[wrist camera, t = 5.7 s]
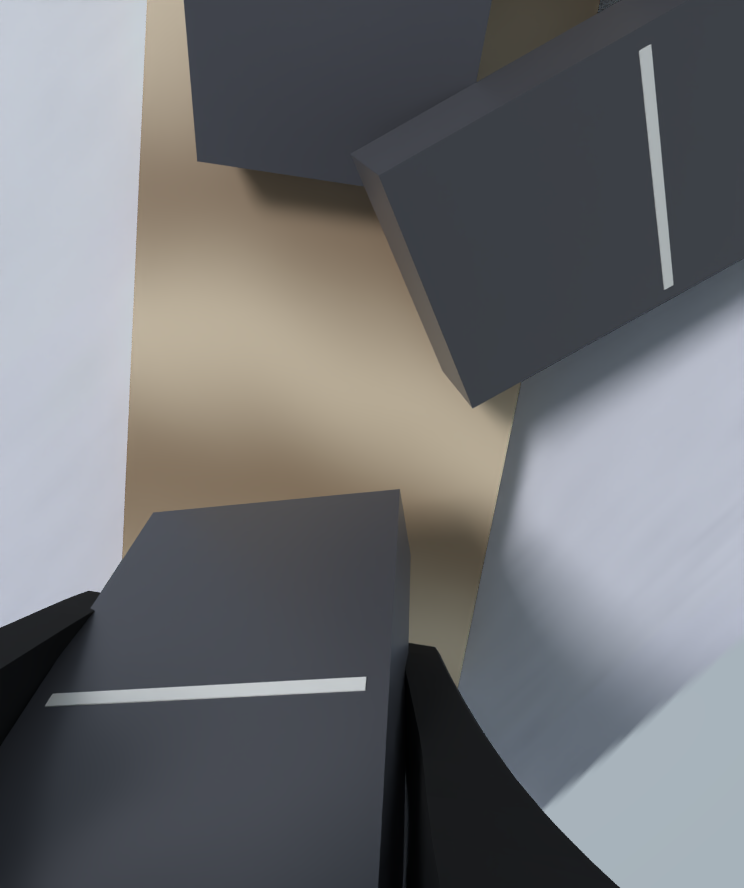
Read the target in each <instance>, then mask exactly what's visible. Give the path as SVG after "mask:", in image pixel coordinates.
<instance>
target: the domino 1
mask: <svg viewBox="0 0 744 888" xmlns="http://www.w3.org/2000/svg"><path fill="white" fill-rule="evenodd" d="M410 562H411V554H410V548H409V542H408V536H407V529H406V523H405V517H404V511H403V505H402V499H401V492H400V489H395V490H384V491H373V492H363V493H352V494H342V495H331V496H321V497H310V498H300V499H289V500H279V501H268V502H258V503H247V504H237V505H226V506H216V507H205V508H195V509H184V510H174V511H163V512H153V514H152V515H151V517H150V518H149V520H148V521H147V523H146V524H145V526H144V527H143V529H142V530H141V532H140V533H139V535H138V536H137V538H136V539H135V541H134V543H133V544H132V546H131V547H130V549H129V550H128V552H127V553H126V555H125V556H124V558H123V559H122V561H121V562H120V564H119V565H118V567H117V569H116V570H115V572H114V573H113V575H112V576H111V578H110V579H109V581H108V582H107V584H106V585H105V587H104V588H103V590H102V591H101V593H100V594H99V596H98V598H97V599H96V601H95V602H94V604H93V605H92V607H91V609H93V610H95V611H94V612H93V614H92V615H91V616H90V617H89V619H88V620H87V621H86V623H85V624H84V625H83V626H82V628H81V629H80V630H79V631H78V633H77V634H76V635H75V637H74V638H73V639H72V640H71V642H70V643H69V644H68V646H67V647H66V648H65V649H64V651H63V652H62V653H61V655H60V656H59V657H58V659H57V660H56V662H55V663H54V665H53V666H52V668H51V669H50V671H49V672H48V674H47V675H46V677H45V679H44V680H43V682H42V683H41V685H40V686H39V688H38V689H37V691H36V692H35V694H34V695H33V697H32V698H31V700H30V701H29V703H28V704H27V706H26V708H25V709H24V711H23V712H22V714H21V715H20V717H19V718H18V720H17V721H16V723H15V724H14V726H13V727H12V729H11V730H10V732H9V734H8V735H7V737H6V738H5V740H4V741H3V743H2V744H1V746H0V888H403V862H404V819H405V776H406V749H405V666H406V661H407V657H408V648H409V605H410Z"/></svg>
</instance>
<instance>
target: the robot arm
mask: <svg viewBox="0 0 744 888" xmlns="http://www.w3.org/2000/svg"><path fill="white" fill-rule="evenodd" d="M99 594H100V593H99V592H93V591H87V592H84V593H81V594H78V595H75V596H73V597H70V598H68V599H65V600H63V601H61V602H58V603H56V604H54V605H51V606H49V607H47V608H44V609H42V610H40V611H38V612H35V613H33V614H31V615H29V616H26V617H24V618H22V619H19V620H17V621H15V622H13V623H10V624H8V625H6V626H3V627H1V628H0V746H1V744H2V743H3V741H4V740H5V738H6V737H7V735H8V734H9V732H10V730H11V729H12V727H13V726H14V724H15V723H16V721H17V720H18V718H19V717H20V715H21V714H22V712H23V711H24V709H25V708H26V706H27V704H28V703H29V701H30V700H31V698H32V697H33V695H34V694H35V692H36V691H37V689H38V688H39V686H40V685H41V683H42V682H43V680H44V679H45V677H46V675H47V674H48V672H49V671H50V669H51V668H52V666H53V665H54V663H55V662H56V660H57V659H58V657H59V656H60V655H61V653H62V652H63V651H64V649H65V648H66V647H67V646H68V644H69V643H70V642H71V640H72V639H73V638H74V637H75V635H76V634H77V633H78V631H79V630H80V629H81V628H82V626H83V625H84V624H85V623H86V621H87V620H88V619H89V617H90V616H91V615H92V614H93V612H94V611H95V610H93V609H91V607H92V605H93V604H94V602H95V601H96V599H97V598H98V596H99ZM405 749H406V776H405V819H404V862H403V888H620V887H619V886H617V885H616V884H615V883H614V882H613V881H612V880H611V879H610V878H609V877H608V876H607V875H605V874H604V873H603V872H602V871H601V870H600V869H599V868H598V867H597V866H596V865H595V864H594V863H592V861H591V860H589V858H587V856H585V854H584V853H582V851H581V850H579V848H578V847H577V846H576V845H574V844H573V842H572V841H571V840H570V839H569V838H567V836H566V835H565V834H564V833H563V832H562V831H561V830H560V829H559V828H558V827H557V826H556V825H555V824H554V823H553V822H552V821H551V820H550V818H549V817H548V816H547V815H546V814H545V813H544V812H543V811H542V809H541V808H540V807H539V806H538V805H537V803H536V802H535V801H534V800H533V799H532V798H531V796H530V795H529V794H528V793H527V792H526V790H525V789H524V788H523V787H522V786H521V784H520V783H519V782H518V781H517V780H516V778H515V777H514V776H513V774H512V773H511V772H510V770H509V769H508V768H507V766H506V765H505V763H504V762H503V760H502V759H501V758H500V756H499V755H498V753H497V752H496V750H495V749H494V748H493V746H492V745H491V743H490V742H489V740H488V739H487V737H486V736H485V734H484V733H483V731H482V729H481V728H480V726H479V724H478V723H477V721H476V720H475V718H474V716H473V715H472V713H471V711H470V710H469V708H468V706H467V705H466V703H465V701H464V699H463V698H462V696H461V694H460V692H459V690H458V689H457V687H456V685H455V683H454V681H453V679H452V677H451V675H450V673H449V672H448V670H447V668H446V665H445V663H444V661H443V659H442V657H441V655H440V653H439V652H438V650H437V649H436V647H432V646H426V645H420V644H414V643H409V648H408V657H407V661H406V666H405Z"/></svg>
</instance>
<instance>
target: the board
mask: <svg viewBox="0 0 744 888" xmlns="http://www.w3.org/2000/svg"><path fill="white" fill-rule="evenodd" d="M599 3H600V0H492V3H491V8H490V14H489V19H488V24H487V29H486V34H485V39H484V45H483V50H482V55H481V60H480V65H479V70H478V76H477V81H476V82H478V81H479V80H481V79H483V78H485V77H486V76H488V75H490V74H492V73H493V72H495V71H497V70H499V69H501V68H502V67H504V66H506V65H508V64H509V63H511V62H513V61H515V60H516V59H518V58H520V57H522V56H523V55H525V54H527V53H529V52H530V51H532V50H534V49H536V48H537V47H539V46H541V45H543V44H544V43H546V42H548V41H550V40H552V39H553V38H555V37H557V36H559V35H560V34H562V33H564V32H566V31H567V30H569V29H571V28H573V27H574V26H576V25H578V24H580V23H581V22H583V21H585V20H587V19H588V18H590V17H592V16H594V15H596V14H597V13H598V8H599ZM520 385H521V382H520V383H518V384H516V385H514V386H513V387H511V388H509V389H507V390H505V391H504V392H502V393H500V394H498V395H496V396H495V397H493V398H491V399H489V400H487V401H486V402H484V403H482V404H480V405H478V406H477V407H475V408H472V407H471V406H470V405H469V403H468V402H467V401H466V400H465V398H464V397H463V396H462V395H461V393H460V392H459V391H458V390H457V388H456V387H455V386H454V385H453V384H452V382H451V381H450V380H449V379H448V377H447V376H446V375H445V374H444V372H443V371H442V369H441V366H440V364H439V362H438V359H437V357H436V355H435V352H434V350H433V347H432V345H431V343H430V340H429V338H428V336H427V333H426V331H425V329H424V326H423V324H422V322H421V319H420V317H419V314H418V312H417V310H416V307H415V305H414V303H413V300H412V298H411V296H410V293H409V291H408V289H407V286H406V284H405V282H404V279H403V277H402V274H401V272H400V270H399V267H398V265H397V263H396V260H395V258H394V256H393V253H392V251H391V249H390V246H389V244H388V241H387V239H386V237H385V234H384V232H383V230H382V227H381V225H380V223H379V220H378V218H377V216H376V213H375V211H374V208H373V206H372V204H371V201H370V199H369V197H368V194H367V192H366V190H365V187H364V186H357V185H350V184H344V183H337V182H330V181H324V180H317V179H311V178H304V177H297V176H291V175H284V174H277V173H271V172H264V171H258V170H251V169H244V168H238V167H231V166H224V165H218V164H211V163H205V162H198V161H197V153H196V142H195V130H194V118H193V106H192V94H191V82H190V70H189V58H188V47H187V35H186V23H185V11H184V0H147V14H146V37H145V59H144V82H143V104H142V126H141V149H140V171H139V194H138V216H137V239H136V261H135V284H134V306H133V329H132V351H131V374H130V396H129V419H128V441H127V463H126V486H125V508H124V531H123V553H122V559H123V558H124V556H125V555H126V553H127V552H128V550H129V549H130V547H131V546H132V544H133V543H134V541H135V539H136V538H137V536H138V535H139V533H140V532H141V530H142V529H143V527H144V526H145V524H146V523H147V521H148V520H149V518H150V517H151V515H152V514H153V512H163V511H174V510H184V509H195V508H205V507H216V506H226V505H237V504H247V503H258V502H268V501H279V500H289V499H300V498H310V497H321V496H331V495H342V494H352V493H363V492H373V491H384V490H395V489H400V492H401V499H402V505H403V511H404V517H405V523H406V529H407V536H408V542H409V548H410V554H411V562H410V605H409V643H414V644H420V645H426V646H432V647H436V649H437V650H438V652H439V653H440V655H441V657H442V659H443V661H444V663H445V665H446V668H447V670H448V672H449V673H450V675H451V677H452V679H453V681H454V683H455V685H456V687H457V689H458V684H459V679H460V675H461V670H462V665H463V660H464V655H465V650H466V646H467V641H468V636H469V631H470V626H471V621H472V617H473V612H474V607H475V602H476V597H477V592H478V588H479V583H480V578H481V573H482V568H483V564H484V559H485V554H486V549H487V544H488V539H489V535H490V530H491V525H492V520H493V515H494V510H495V506H496V501H497V496H498V491H499V486H500V481H501V477H502V472H503V467H504V462H505V457H506V452H507V448H508V443H509V438H510V433H511V428H512V423H513V419H514V414H515V409H516V404H517V399H518V394H519V390H520Z"/></svg>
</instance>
